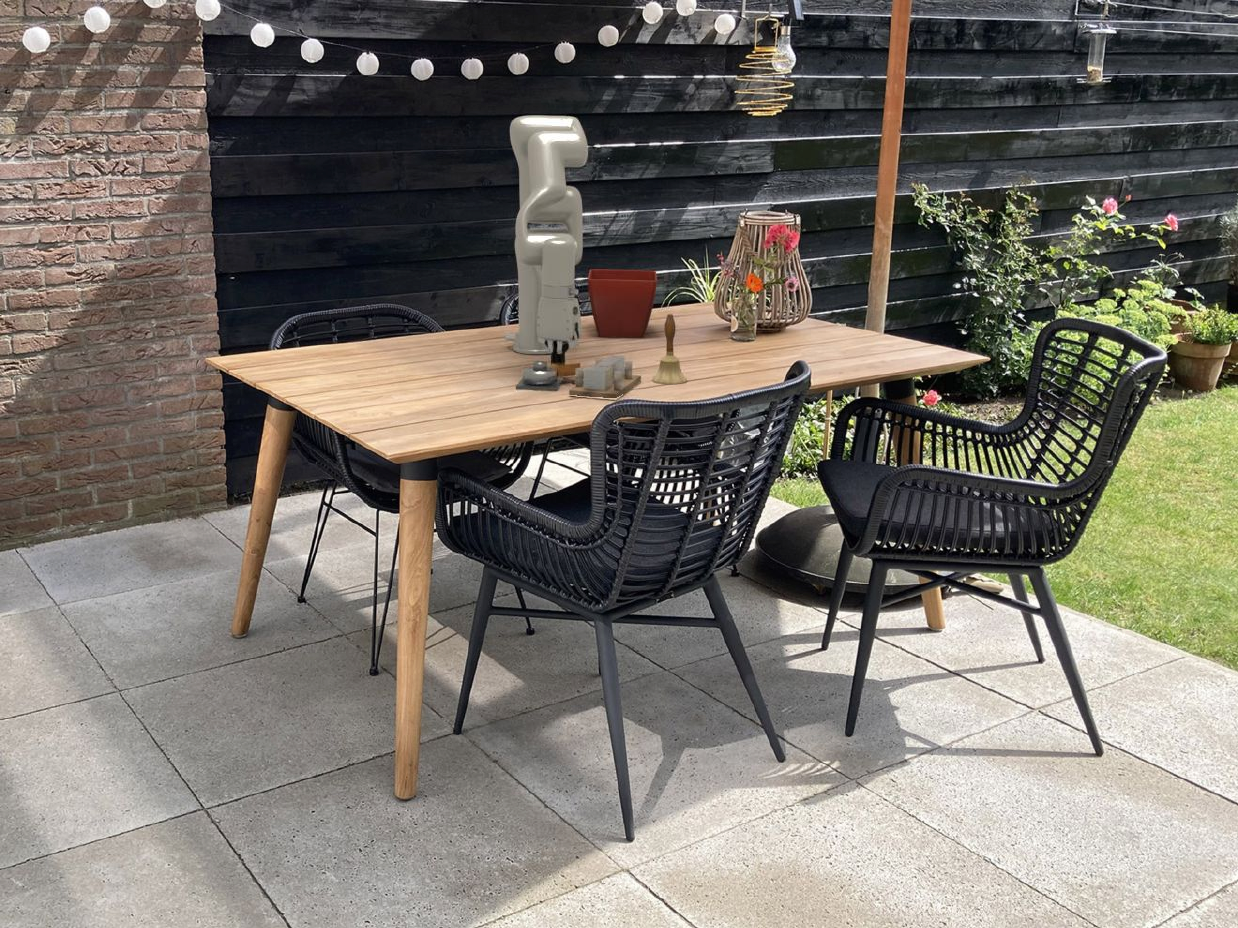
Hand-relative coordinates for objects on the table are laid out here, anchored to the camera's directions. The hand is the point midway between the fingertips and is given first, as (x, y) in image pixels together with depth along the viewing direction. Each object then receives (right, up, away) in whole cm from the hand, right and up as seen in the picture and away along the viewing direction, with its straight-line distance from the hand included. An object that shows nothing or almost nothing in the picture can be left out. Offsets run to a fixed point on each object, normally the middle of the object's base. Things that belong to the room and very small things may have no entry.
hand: (557, 368), depth 296 cm
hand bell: (+27, -3, +2) cm, 27 cm away
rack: (+11, -5, -8) cm, 15 cm away
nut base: (-2, -4, -6) cm, 8 cm away
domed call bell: (-1, -3, -4) cm, 5 cm away
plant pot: (+15, +14, +58) cm, 62 cm away
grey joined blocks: (+11, -4, -8) cm, 15 cm away
